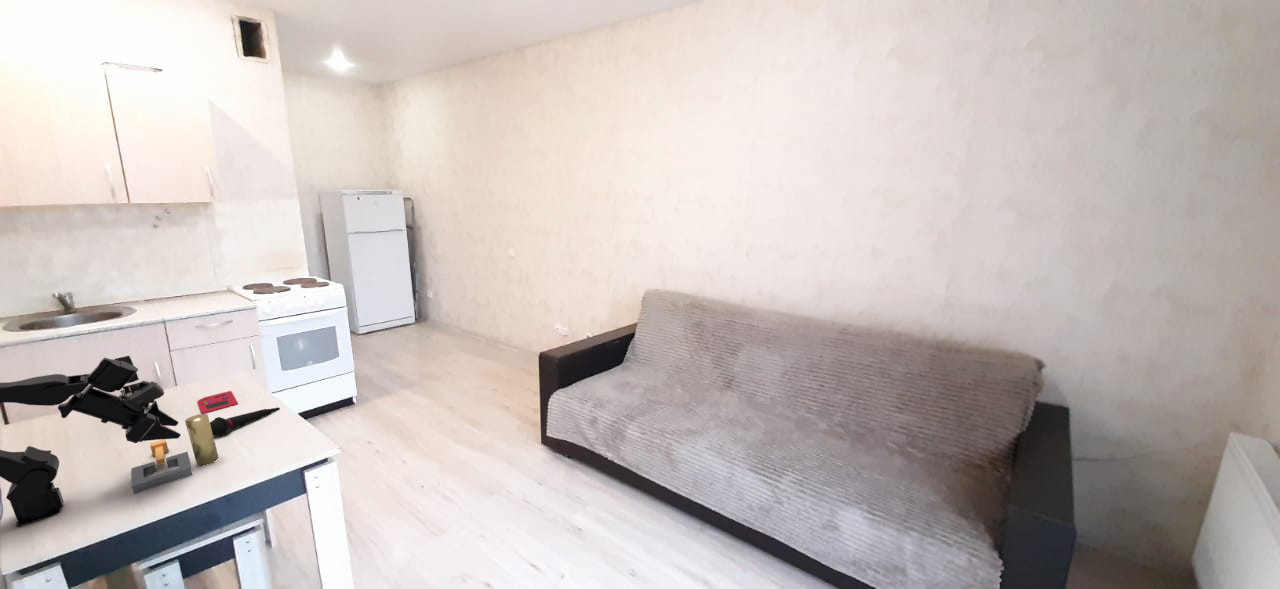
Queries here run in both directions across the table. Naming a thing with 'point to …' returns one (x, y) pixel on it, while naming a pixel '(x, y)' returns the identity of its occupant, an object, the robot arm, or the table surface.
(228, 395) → the handheld gaming console
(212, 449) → the ball
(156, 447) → the pin
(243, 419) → the microphone
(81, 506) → the table surface
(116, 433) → the table surface
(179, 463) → the frame
